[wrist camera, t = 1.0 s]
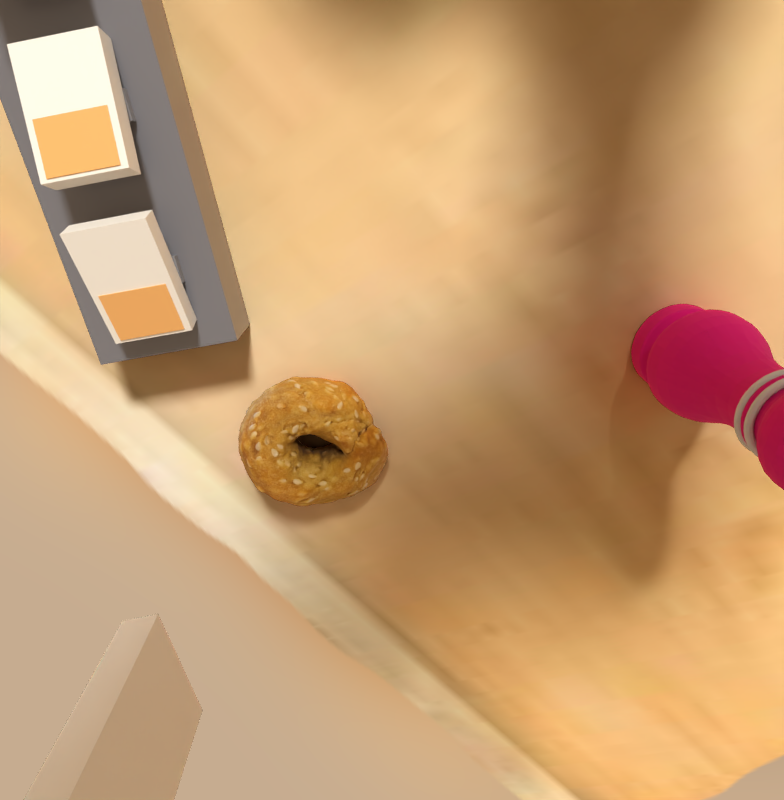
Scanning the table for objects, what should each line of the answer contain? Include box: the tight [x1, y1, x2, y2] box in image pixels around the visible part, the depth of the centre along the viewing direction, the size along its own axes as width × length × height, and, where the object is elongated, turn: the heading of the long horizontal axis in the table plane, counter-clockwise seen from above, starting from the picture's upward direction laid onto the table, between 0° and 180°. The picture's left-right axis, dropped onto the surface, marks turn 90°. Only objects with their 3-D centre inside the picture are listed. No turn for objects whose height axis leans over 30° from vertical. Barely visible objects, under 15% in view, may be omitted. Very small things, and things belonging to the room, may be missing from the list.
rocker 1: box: [7, 26, 141, 190], centre depth 31 cm, size 7×5×2 cm
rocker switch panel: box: [0, 0, 250, 365], centre depth 34 cm, size 28×9×5 cm, turn 10°
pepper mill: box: [631, 304, 784, 490], centre depth 34 cm, size 7×7×20 cm
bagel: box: [238, 377, 388, 506], centre depth 43 cm, size 10×11×5 cm
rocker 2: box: [60, 210, 197, 344], centre depth 35 cm, size 7×5×2 cm
